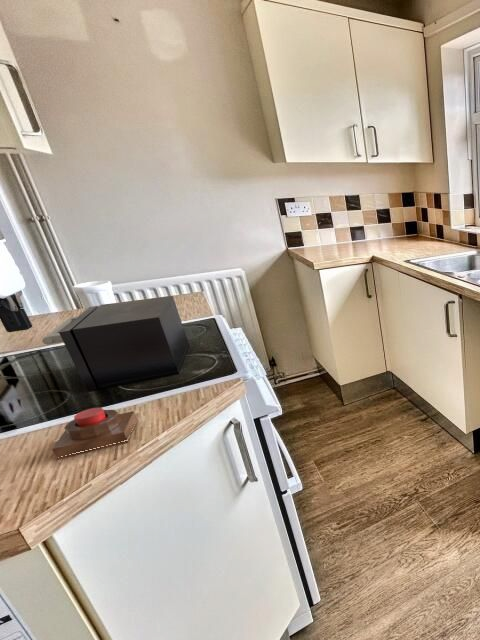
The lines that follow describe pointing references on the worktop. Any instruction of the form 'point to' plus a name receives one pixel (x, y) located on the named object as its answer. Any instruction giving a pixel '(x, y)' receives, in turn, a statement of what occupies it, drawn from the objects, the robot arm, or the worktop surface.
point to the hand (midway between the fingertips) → (20, 329)
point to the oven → (133, 341)
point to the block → (95, 434)
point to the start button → (89, 417)
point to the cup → (95, 293)
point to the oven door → (74, 346)
